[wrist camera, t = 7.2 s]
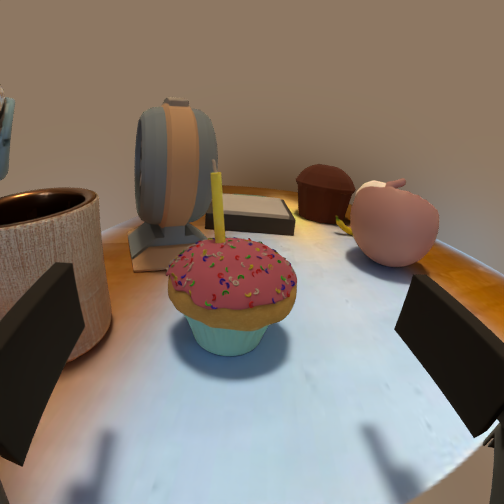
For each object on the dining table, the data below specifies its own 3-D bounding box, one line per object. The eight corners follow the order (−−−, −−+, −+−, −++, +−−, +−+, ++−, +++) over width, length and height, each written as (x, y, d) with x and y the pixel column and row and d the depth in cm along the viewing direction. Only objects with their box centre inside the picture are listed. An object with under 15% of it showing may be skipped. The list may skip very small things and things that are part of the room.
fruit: (369, 236, 48) (372, 219, 47) (371, 238, 47) (375, 221, 46) (331, 232, 47) (334, 214, 46) (333, 234, 46) (336, 216, 45)
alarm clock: (127, 231, 39) (129, 103, 32) (192, 226, 43) (199, 105, 37) (134, 277, 27) (136, 87, 21) (227, 267, 31) (241, 94, 25)
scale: (205, 228, 43) (206, 208, 42) (214, 206, 56) (214, 190, 55) (293, 235, 44) (296, 216, 43) (281, 211, 57) (283, 196, 56)
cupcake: (145, 339, 19) (135, 160, 15) (213, 293, 26) (221, 154, 22) (253, 396, 16) (283, 179, 11) (304, 326, 23) (332, 171, 18)
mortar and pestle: (423, 260, 39) (441, 187, 35) (426, 293, 29) (453, 196, 25) (352, 240, 44) (365, 167, 40) (332, 265, 35) (349, 169, 30)
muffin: (360, 223, 55) (369, 173, 52) (327, 229, 49) (336, 170, 45) (315, 207, 64) (321, 162, 60) (279, 210, 57) (285, 159, 53)
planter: (67, 280, 25) (56, 182, 21) (141, 323, 21) (133, 196, 17) (-22, 324, 16) (-51, 212, 12) (28, 400, 12) (-31, 246, 8)
